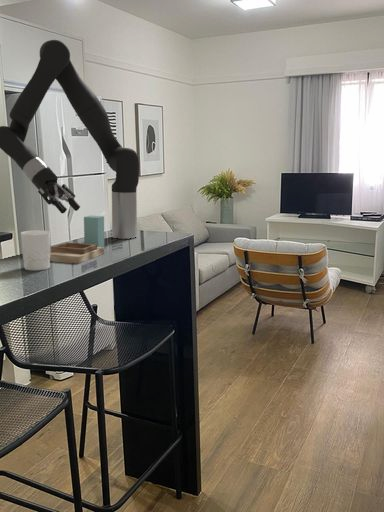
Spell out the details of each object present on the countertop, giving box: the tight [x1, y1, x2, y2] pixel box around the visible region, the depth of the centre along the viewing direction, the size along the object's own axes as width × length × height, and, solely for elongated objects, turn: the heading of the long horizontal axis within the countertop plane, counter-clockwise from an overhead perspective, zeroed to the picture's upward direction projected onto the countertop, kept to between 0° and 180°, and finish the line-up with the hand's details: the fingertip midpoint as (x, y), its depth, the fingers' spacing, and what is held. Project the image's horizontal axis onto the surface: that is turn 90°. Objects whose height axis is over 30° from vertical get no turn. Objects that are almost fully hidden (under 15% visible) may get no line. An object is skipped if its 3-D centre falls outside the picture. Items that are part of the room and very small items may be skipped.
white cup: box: [20, 229, 52, 271], centre depth 140 cm, size 8×8×10 cm
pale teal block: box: [83, 215, 105, 250], centre depth 168 cm, size 4×5×11 cm
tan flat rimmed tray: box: [50, 242, 105, 265], centre depth 156 cm, size 16×12×4 cm
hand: (71, 210), depth 168 cm, fingers open, 8 cm apart
